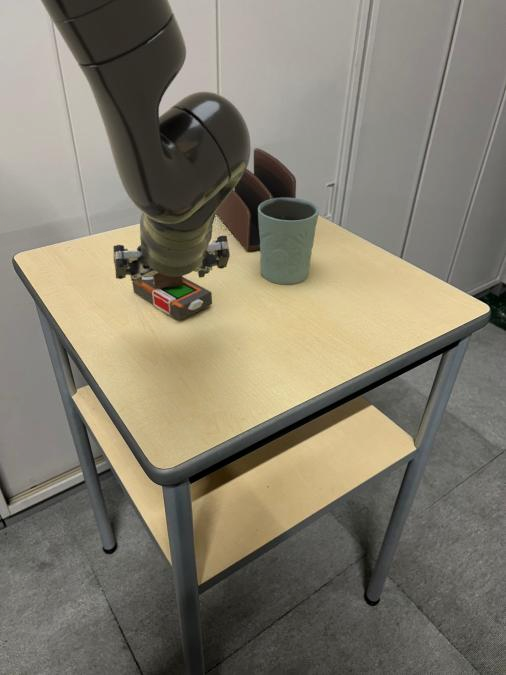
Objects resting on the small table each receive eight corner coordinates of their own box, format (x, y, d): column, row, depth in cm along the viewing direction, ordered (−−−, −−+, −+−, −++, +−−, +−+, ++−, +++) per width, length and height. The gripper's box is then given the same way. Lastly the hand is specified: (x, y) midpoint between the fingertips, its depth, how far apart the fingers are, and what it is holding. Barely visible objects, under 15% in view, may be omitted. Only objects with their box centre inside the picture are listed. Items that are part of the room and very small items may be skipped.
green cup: (273, 291, 87) (277, 225, 79) (245, 265, 94) (246, 202, 87) (323, 278, 91) (331, 213, 83) (293, 254, 98) (297, 192, 91)
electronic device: (156, 260, 89) (212, 290, 80) (158, 276, 91) (213, 307, 82) (122, 274, 85) (178, 307, 77) (125, 289, 87) (180, 323, 78)
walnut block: (155, 288, 81) (149, 239, 77) (152, 277, 84) (146, 230, 80) (183, 285, 82) (178, 236, 78) (179, 274, 85) (175, 227, 81)
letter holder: (256, 206, 116) (258, 142, 107) (294, 244, 101) (300, 173, 92) (213, 212, 112) (212, 146, 104) (247, 252, 98) (248, 179, 89)
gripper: (234, 195, 58) (215, 243, 74) (103, 204, 55) (113, 252, 71) (244, 259, 57) (223, 294, 73) (112, 272, 54) (120, 306, 70)
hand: (169, 273), depth 72 cm, fingers open, 8 cm apart
